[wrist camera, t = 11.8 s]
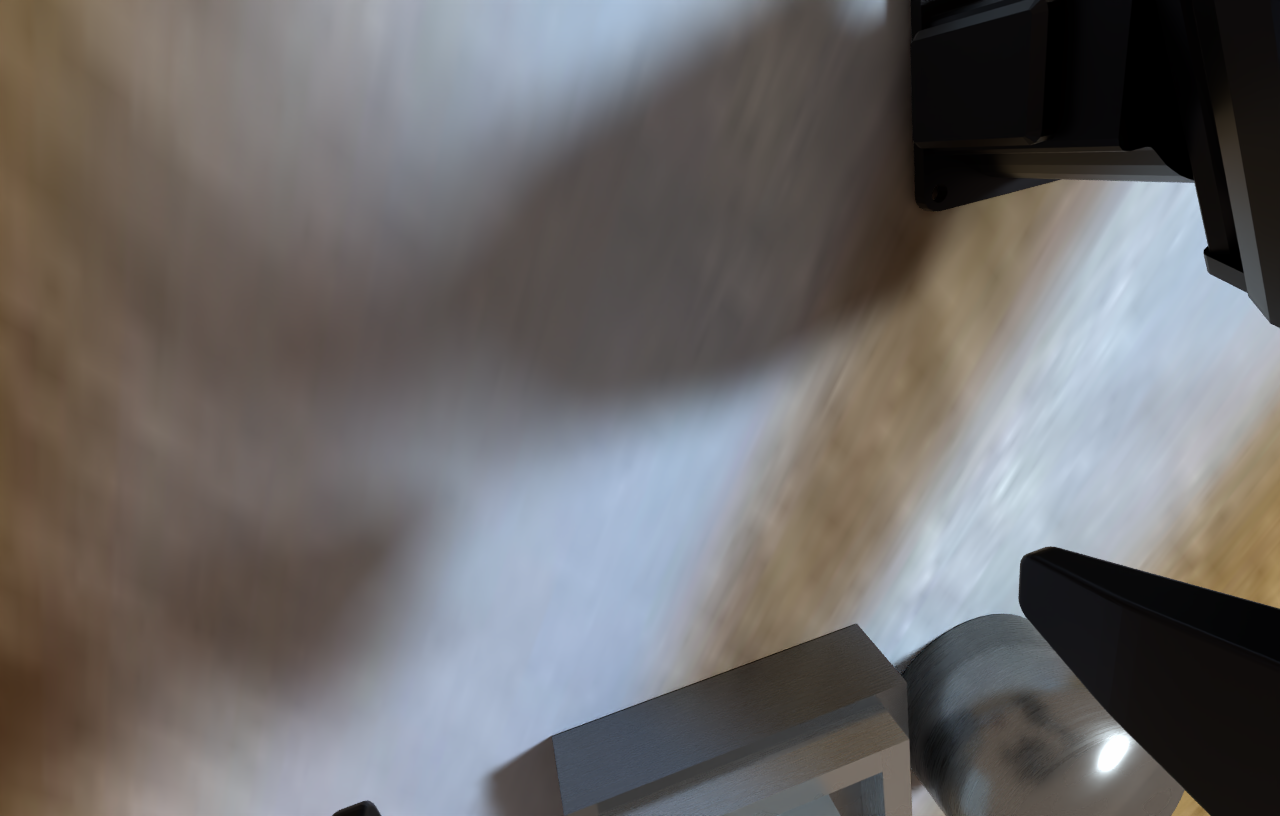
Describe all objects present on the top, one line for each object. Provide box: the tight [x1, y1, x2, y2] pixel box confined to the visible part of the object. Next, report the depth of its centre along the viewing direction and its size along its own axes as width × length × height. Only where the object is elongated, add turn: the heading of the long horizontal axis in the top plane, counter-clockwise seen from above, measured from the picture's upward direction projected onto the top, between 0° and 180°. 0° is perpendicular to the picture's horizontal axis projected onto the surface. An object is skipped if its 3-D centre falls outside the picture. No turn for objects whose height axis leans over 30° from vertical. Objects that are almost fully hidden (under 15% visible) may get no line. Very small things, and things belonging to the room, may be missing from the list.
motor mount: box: [552, 614, 1184, 816], centre depth 24 cm, size 21×12×6 cm, turn 102°
